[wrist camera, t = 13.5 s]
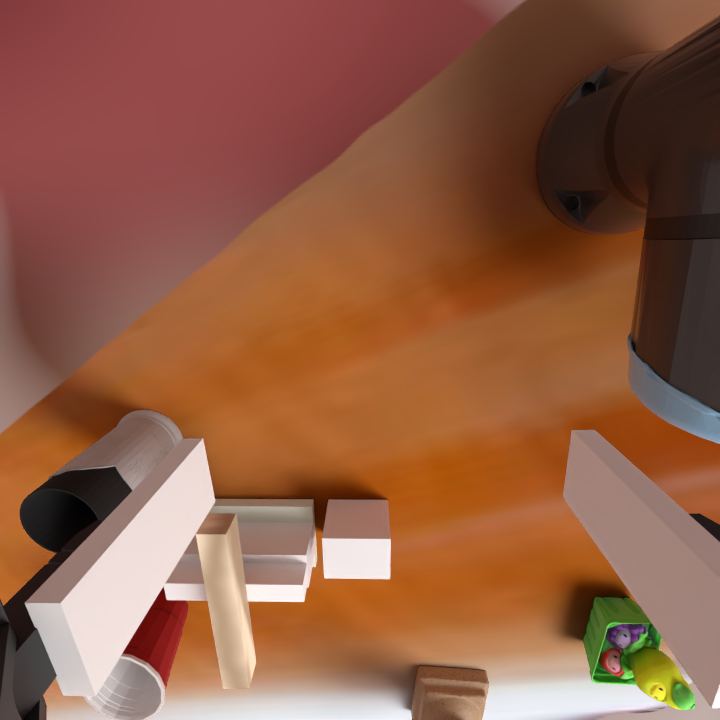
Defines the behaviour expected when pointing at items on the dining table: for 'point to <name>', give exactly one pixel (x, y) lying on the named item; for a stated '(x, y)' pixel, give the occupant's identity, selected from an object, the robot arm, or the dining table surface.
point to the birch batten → (227, 598)
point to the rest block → (357, 539)
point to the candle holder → (449, 693)
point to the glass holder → (98, 479)
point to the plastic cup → (144, 665)
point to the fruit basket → (632, 652)
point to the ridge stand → (259, 551)
